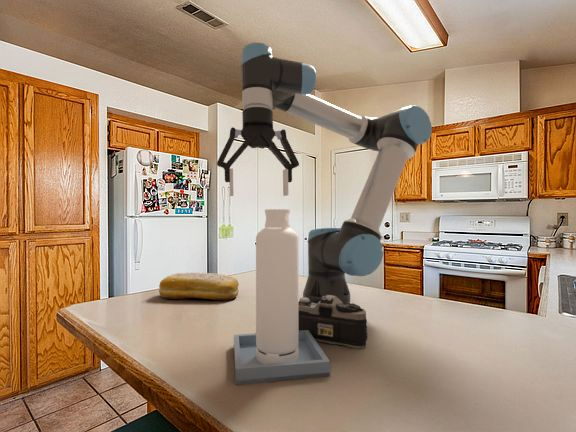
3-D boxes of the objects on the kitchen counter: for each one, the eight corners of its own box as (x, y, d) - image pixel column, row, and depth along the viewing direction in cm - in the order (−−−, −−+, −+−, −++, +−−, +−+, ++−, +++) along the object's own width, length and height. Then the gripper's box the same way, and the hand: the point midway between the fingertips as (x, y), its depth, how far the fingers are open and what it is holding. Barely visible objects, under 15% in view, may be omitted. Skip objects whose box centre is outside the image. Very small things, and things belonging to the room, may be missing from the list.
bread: (169, 292, 121) (169, 270, 121) (242, 293, 120) (242, 270, 120) (152, 302, 108) (152, 277, 108) (234, 303, 106) (234, 278, 106)
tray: (308, 341, 74) (308, 329, 74) (330, 375, 58) (330, 361, 58) (233, 346, 71) (233, 334, 71) (235, 384, 55) (235, 369, 55)
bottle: (294, 367, 60) (294, 209, 60) (250, 363, 61) (250, 209, 61) (301, 349, 68) (301, 209, 68) (262, 346, 69) (262, 209, 69)
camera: (373, 336, 77) (373, 292, 77) (363, 352, 68) (363, 303, 68) (309, 326, 84) (309, 286, 84) (292, 340, 75) (292, 295, 75)
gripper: (302, 116, 90) (303, 196, 91) (206, 112, 85) (207, 196, 85) (310, 108, 83) (311, 194, 83) (205, 102, 78) (207, 195, 78)
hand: (259, 195), depth 84 cm, fingers open, 13 cm apart
